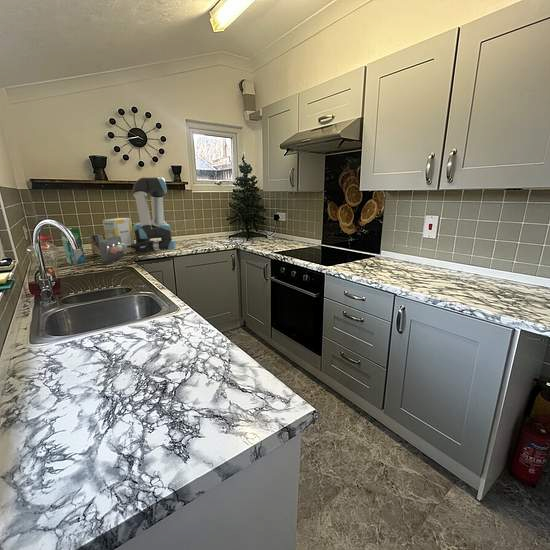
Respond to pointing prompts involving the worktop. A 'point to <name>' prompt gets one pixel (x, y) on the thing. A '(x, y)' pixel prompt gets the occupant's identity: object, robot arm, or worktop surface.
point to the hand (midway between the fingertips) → (123, 246)
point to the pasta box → (120, 231)
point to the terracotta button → (113, 250)
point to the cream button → (119, 247)
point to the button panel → (105, 250)
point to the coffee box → (96, 243)
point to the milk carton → (70, 253)
